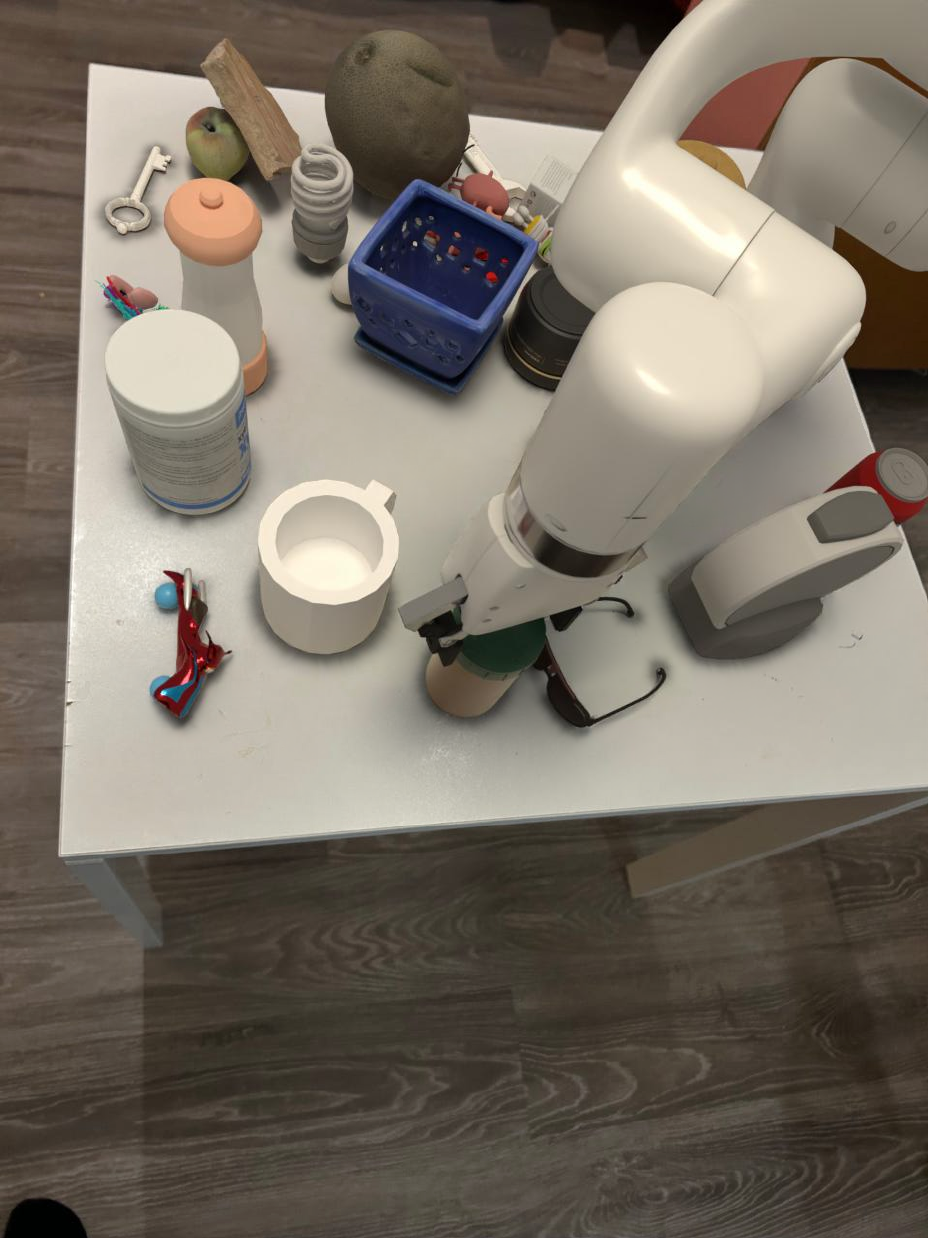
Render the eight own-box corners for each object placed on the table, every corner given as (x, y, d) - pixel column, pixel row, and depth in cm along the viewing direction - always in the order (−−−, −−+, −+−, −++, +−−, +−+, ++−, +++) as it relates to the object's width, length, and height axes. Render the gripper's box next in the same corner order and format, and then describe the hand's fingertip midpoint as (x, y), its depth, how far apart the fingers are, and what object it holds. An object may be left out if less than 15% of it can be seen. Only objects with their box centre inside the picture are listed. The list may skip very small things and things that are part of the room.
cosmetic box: (513, 214, 88) (606, 275, 90) (529, 181, 84) (626, 246, 86) (532, 184, 91) (622, 244, 92) (549, 151, 87) (642, 214, 89)
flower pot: (397, 269, 84) (414, 168, 73) (511, 329, 84) (545, 237, 73) (334, 356, 78) (343, 261, 68) (457, 420, 79) (485, 336, 68)
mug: (324, 495, 73) (331, 426, 63) (423, 553, 73) (445, 492, 63) (236, 613, 67) (228, 557, 58) (343, 677, 67) (353, 630, 57)
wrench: (538, 216, 91) (543, 202, 89) (500, 229, 89) (504, 215, 88) (421, 63, 96) (424, 47, 95) (383, 72, 94) (385, 56, 93)
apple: (258, 148, 86) (257, 95, 81) (241, 202, 83) (238, 150, 78) (201, 132, 85) (195, 78, 80) (181, 186, 82) (174, 133, 77)
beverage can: (818, 575, 81) (902, 517, 70) (781, 519, 82) (857, 453, 71) (866, 553, 83) (955, 493, 72) (829, 498, 85) (910, 431, 74)
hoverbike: (131, 712, 59) (204, 701, 58) (140, 565, 64) (208, 553, 63) (166, 730, 64) (235, 720, 63) (172, 592, 68) (236, 581, 68)
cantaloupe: (292, 134, 75) (407, 250, 84) (400, 2, 69) (510, 142, 79) (288, 92, 85) (392, 200, 94) (383, -27, 79) (483, 101, 88)
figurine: (418, 261, 86) (480, 278, 85) (414, 236, 83) (479, 253, 82) (461, 181, 90) (522, 195, 89) (459, 154, 87) (521, 168, 86)
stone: (300, 175, 89) (318, 160, 88) (267, 185, 79) (287, 168, 78) (221, 54, 84) (239, 37, 83) (175, 48, 74) (195, 29, 73)
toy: (486, 126, 79) (590, 239, 85) (484, 123, 81) (585, 233, 88) (440, 183, 81) (545, 289, 88) (439, 179, 84) (541, 281, 90)
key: (141, 233, 78) (96, 221, 78) (143, 241, 79) (98, 229, 79) (177, 149, 83) (135, 137, 83) (179, 157, 84) (137, 145, 83)
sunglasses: (505, 632, 71) (527, 608, 67) (612, 598, 77) (639, 574, 72) (557, 743, 69) (584, 726, 64) (664, 700, 74) (696, 681, 70)
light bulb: (357, 259, 84) (368, 155, 73) (324, 291, 81) (331, 189, 70) (312, 229, 84) (316, 122, 73) (278, 260, 82) (277, 153, 71)
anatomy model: (55, 283, 69) (90, 335, 75) (130, 325, 68) (159, 374, 74) (95, 240, 70) (125, 295, 77) (169, 281, 69) (194, 333, 75)
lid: (518, 581, 61) (524, 571, 60) (553, 665, 60) (561, 657, 58) (432, 605, 59) (437, 595, 58) (466, 693, 57) (472, 685, 56)
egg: (333, 317, 80) (348, 308, 83) (384, 293, 78) (397, 284, 81) (314, 279, 79) (330, 271, 82) (365, 252, 76) (380, 245, 79)
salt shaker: (282, 380, 76) (282, 212, 59) (210, 410, 74) (188, 242, 56) (243, 323, 78) (231, 142, 60) (171, 350, 75) (137, 169, 58)
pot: (648, 281, 91) (689, 206, 82) (604, 201, 94) (639, 121, 85) (733, 266, 94) (781, 193, 85) (688, 190, 98) (730, 112, 89)
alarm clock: (781, 538, 81) (908, 433, 65) (829, 631, 78) (975, 545, 62) (643, 577, 76) (742, 474, 60) (688, 677, 74) (807, 598, 57)
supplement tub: (271, 492, 72) (268, 387, 59) (168, 536, 68) (141, 436, 55) (218, 408, 74) (204, 289, 61) (116, 447, 71) (77, 330, 57)
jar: (568, 241, 80) (545, 298, 87) (500, 287, 76) (482, 342, 83) (643, 308, 79) (614, 360, 86) (578, 358, 75) (553, 408, 82)
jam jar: (485, 634, 71) (521, 576, 60) (513, 704, 69) (556, 657, 58) (414, 655, 69) (439, 599, 58) (441, 727, 67) (472, 684, 56)
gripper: (689, 414, 46) (583, 554, 61) (397, 478, 40) (362, 613, 56) (750, 529, 44) (624, 643, 59) (450, 613, 38) (399, 715, 54)
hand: (497, 628), depth 58 cm, fingers open, 8 cm apart
